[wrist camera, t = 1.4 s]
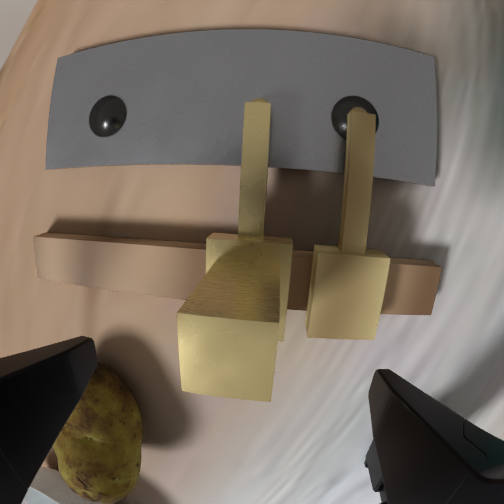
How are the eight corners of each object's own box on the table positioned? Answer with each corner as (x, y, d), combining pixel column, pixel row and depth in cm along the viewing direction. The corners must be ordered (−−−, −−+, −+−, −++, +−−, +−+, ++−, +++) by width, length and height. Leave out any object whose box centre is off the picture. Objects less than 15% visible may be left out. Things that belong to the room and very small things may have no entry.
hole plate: (427, 61, 14) (434, 56, 13) (427, 185, 16) (435, 186, 15) (65, 61, 16) (56, 57, 15) (54, 169, 18) (44, 169, 17)
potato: (181, 390, 21) (144, 471, 13) (143, 466, 24) (116, 525, 16) (85, 337, 21) (23, 394, 13) (72, 425, 24) (34, 476, 16)
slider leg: (299, 102, 15) (315, 38, 7) (283, 323, 17) (282, 423, 10) (221, 99, 15) (171, 39, 7) (213, 317, 18) (170, 408, 10)
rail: (443, 131, 15) (471, 125, 12) (419, 315, 18) (439, 339, 15) (47, 121, 17) (17, 117, 14) (51, 281, 20) (23, 296, 17)
